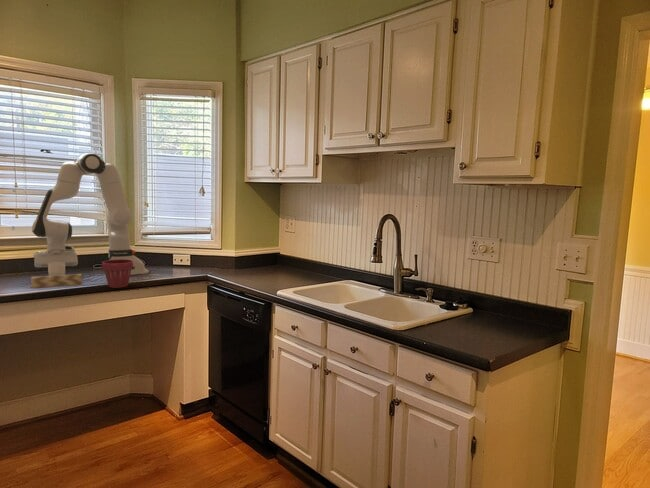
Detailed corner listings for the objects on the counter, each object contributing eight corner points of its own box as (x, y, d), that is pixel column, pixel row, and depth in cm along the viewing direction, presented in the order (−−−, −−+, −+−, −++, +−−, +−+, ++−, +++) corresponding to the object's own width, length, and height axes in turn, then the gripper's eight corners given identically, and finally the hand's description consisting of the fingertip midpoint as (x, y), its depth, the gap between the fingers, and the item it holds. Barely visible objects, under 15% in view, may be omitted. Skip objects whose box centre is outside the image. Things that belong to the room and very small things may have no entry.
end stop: (81, 282, 243) (81, 273, 243) (82, 284, 239) (81, 274, 239) (32, 285, 232) (31, 276, 232) (31, 287, 228) (31, 277, 228)
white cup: (48, 284, 237) (47, 265, 236) (48, 281, 244) (47, 262, 242) (65, 283, 241) (65, 264, 239) (65, 280, 248) (65, 261, 246)
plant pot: (102, 289, 228) (101, 263, 227) (103, 284, 241) (102, 259, 239) (133, 287, 234) (133, 262, 232) (132, 282, 246) (132, 258, 245)
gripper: (33, 248, 245) (33, 269, 238) (77, 247, 255) (78, 267, 248) (34, 255, 250) (33, 276, 242) (77, 254, 259) (78, 274, 252)
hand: (56, 272), depth 245 cm, fingers closed, pressing on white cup
